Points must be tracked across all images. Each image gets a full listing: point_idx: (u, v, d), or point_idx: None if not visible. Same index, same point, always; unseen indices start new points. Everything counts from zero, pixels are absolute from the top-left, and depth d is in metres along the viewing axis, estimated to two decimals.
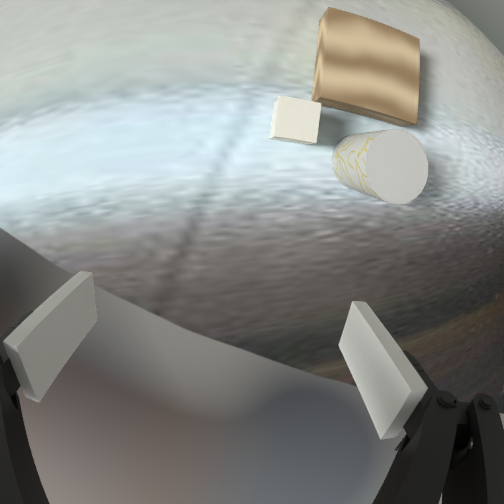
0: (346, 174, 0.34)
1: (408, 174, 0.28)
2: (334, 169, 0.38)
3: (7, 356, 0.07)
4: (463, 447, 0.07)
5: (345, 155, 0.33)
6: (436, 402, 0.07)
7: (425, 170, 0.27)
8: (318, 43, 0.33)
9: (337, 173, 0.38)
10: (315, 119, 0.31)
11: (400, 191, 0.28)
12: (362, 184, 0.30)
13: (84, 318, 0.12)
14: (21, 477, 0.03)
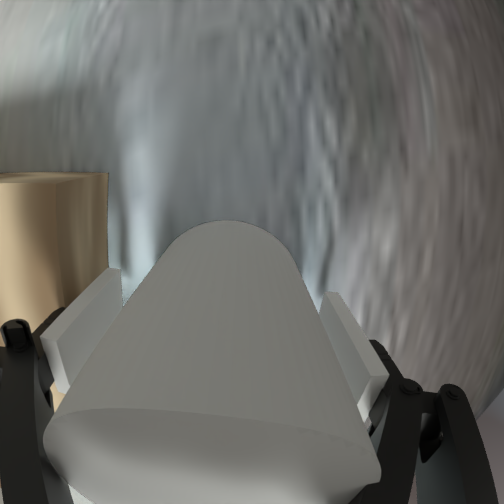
0: None
1: (235, 491, 0.04)
2: None
3: (43, 351, 0.08)
4: (434, 438, 0.08)
5: None
6: (398, 390, 0.08)
7: (180, 430, 0.04)
8: None
9: None
10: None
11: (320, 498, 0.05)
12: None
13: (113, 313, 0.13)
14: (49, 477, 0.04)
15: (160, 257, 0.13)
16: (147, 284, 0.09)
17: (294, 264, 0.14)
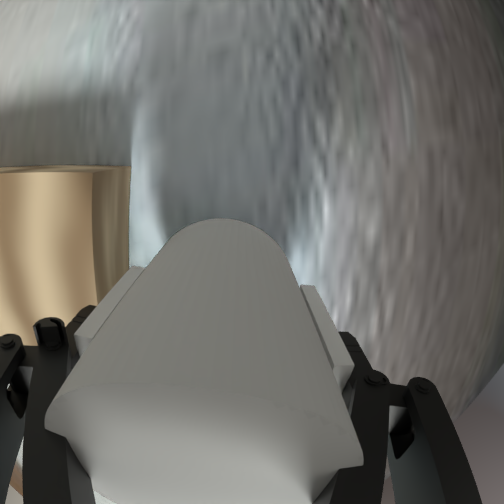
0: None
1: (223, 470, 0.05)
2: None
3: (76, 349, 0.09)
4: (406, 432, 0.08)
5: None
6: (363, 382, 0.08)
7: (168, 404, 0.04)
8: None
9: None
10: None
11: (306, 480, 0.05)
12: None
13: None
14: (74, 479, 0.04)
15: None
16: (143, 278, 0.09)
17: (285, 259, 0.14)
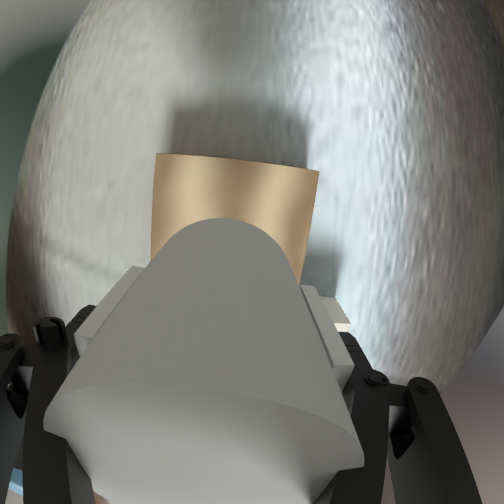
0: None
1: (222, 471, 0.05)
2: None
3: (76, 349, 0.09)
4: (406, 432, 0.08)
5: None
6: (363, 382, 0.08)
7: (167, 406, 0.04)
8: None
9: None
10: None
11: (306, 481, 0.05)
12: None
13: None
14: (74, 479, 0.04)
15: (156, 254, 0.13)
16: (142, 278, 0.09)
17: (285, 259, 0.14)
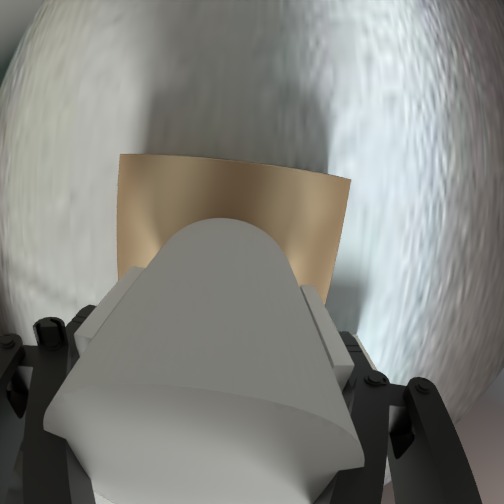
0: None
1: (222, 471, 0.05)
2: None
3: (76, 349, 0.09)
4: (406, 432, 0.08)
5: None
6: (363, 382, 0.08)
7: (167, 405, 0.04)
8: None
9: None
10: None
11: (306, 481, 0.05)
12: None
13: None
14: (74, 479, 0.04)
15: (156, 254, 0.13)
16: (142, 278, 0.09)
17: (285, 259, 0.14)
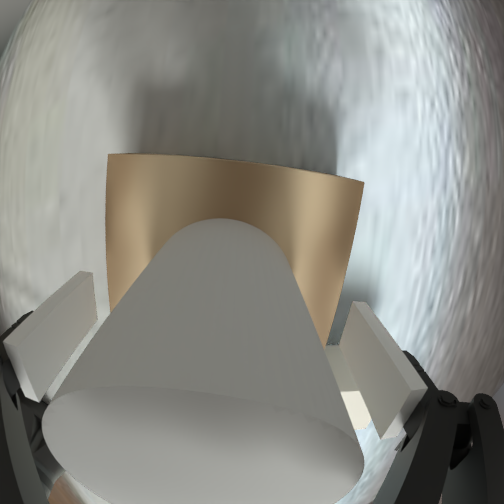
0: None
1: (222, 474, 0.05)
2: None
3: (7, 356, 0.07)
4: (463, 447, 0.07)
5: None
6: (436, 402, 0.07)
7: (165, 408, 0.04)
8: None
9: None
10: (354, 395, 0.19)
11: (306, 484, 0.05)
12: None
13: (84, 318, 0.12)
14: (22, 477, 0.03)
15: (155, 255, 0.13)
16: (141, 279, 0.09)
17: (285, 260, 0.14)
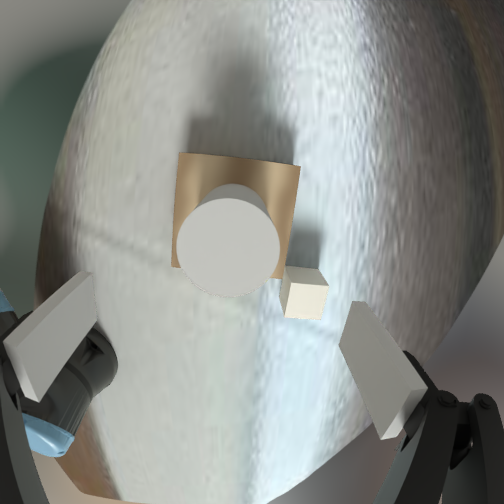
0: None
1: (236, 235, 0.23)
2: None
3: (7, 356, 0.07)
4: (463, 447, 0.07)
5: None
6: (436, 402, 0.07)
7: (226, 204, 0.22)
8: None
9: None
10: (307, 287, 0.37)
11: (261, 244, 0.23)
12: None
13: (84, 318, 0.12)
14: (22, 477, 0.03)
15: (204, 197, 0.31)
16: (207, 196, 0.27)
17: (261, 200, 0.32)
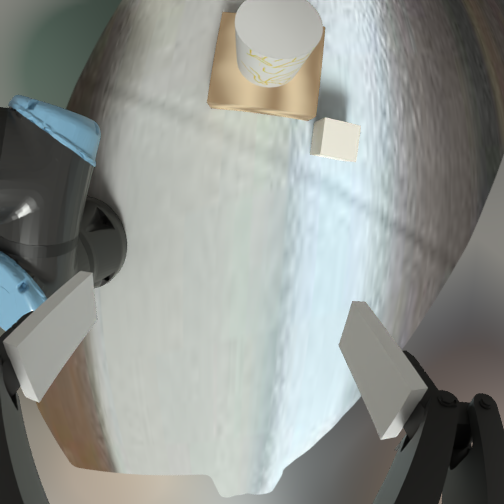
0: (287, 74, 0.28)
1: (286, 12, 0.20)
2: (279, 85, 0.32)
3: (7, 356, 0.07)
4: (463, 447, 0.07)
5: (266, 76, 0.28)
6: (436, 402, 0.07)
7: None
8: (242, 110, 0.38)
9: (284, 82, 0.32)
10: (340, 124, 0.34)
11: (307, 21, 0.20)
12: (302, 60, 0.24)
13: (84, 318, 0.12)
14: (21, 477, 0.03)
15: None
16: None
17: None
